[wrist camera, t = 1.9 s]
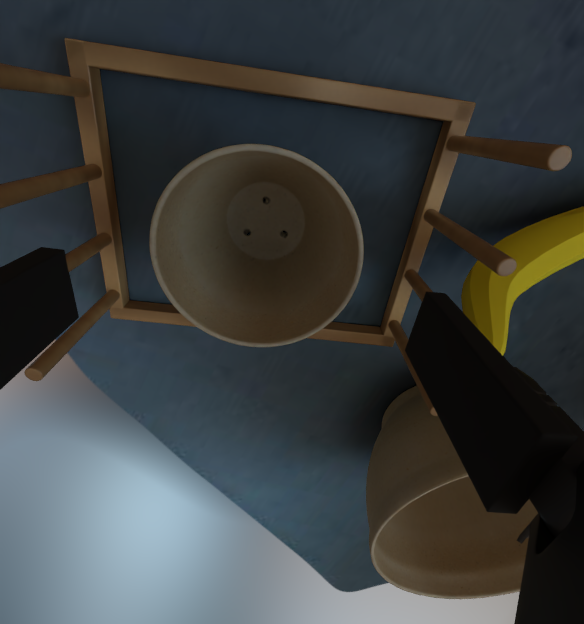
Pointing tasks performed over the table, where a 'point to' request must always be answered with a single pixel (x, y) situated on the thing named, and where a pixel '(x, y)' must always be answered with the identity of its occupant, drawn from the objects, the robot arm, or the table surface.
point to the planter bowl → (436, 513)
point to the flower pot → (256, 245)
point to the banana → (521, 271)
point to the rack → (98, 56)
